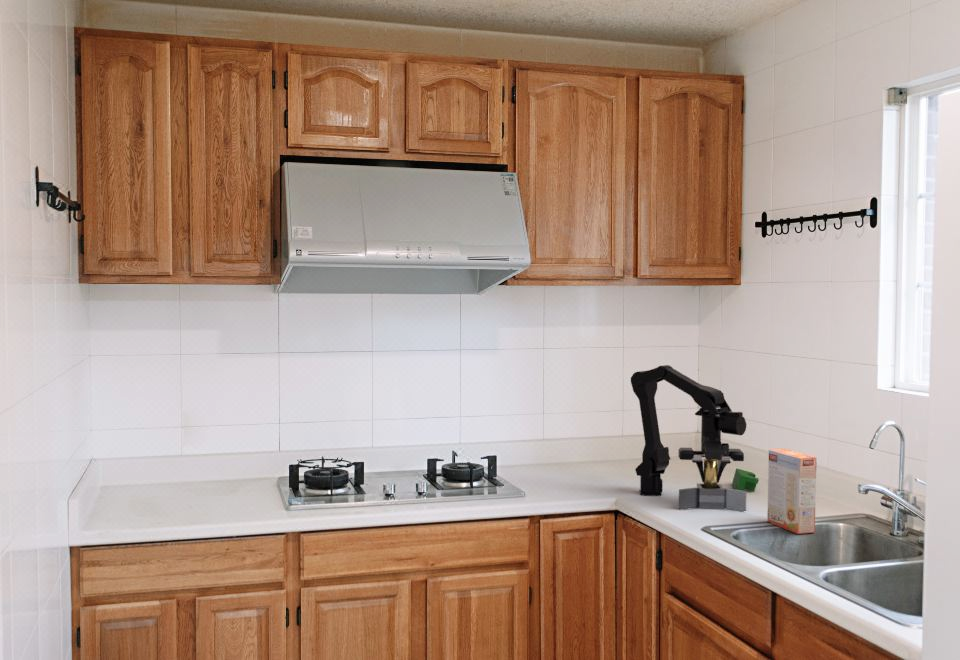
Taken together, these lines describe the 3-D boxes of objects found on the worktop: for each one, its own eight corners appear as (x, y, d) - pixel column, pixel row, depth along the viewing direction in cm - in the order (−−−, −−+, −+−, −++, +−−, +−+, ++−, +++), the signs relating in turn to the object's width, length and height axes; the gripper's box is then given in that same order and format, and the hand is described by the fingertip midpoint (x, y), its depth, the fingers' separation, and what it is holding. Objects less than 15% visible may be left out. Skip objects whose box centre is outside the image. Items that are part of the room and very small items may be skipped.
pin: (704, 490, 270) (704, 460, 270) (702, 487, 274) (703, 458, 274) (718, 490, 270) (718, 461, 269) (716, 487, 274) (716, 458, 273)
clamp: (751, 505, 291) (759, 483, 287) (732, 500, 292) (740, 478, 288) (749, 484, 301) (758, 462, 297) (732, 479, 302) (740, 457, 298)
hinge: (679, 509, 268) (679, 489, 268) (676, 502, 277) (676, 482, 277) (746, 511, 265) (747, 491, 265) (741, 504, 275) (741, 484, 274)
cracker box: (816, 533, 242) (817, 456, 241) (797, 535, 241) (798, 457, 240) (784, 520, 256) (786, 447, 255) (766, 522, 254) (767, 448, 253)
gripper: (682, 435, 264) (681, 487, 265) (747, 436, 262) (746, 489, 263) (678, 429, 275) (677, 479, 276) (741, 430, 273) (740, 481, 274)
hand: (710, 482), depth 272 cm, fingers closed on pin, 4 cm apart
